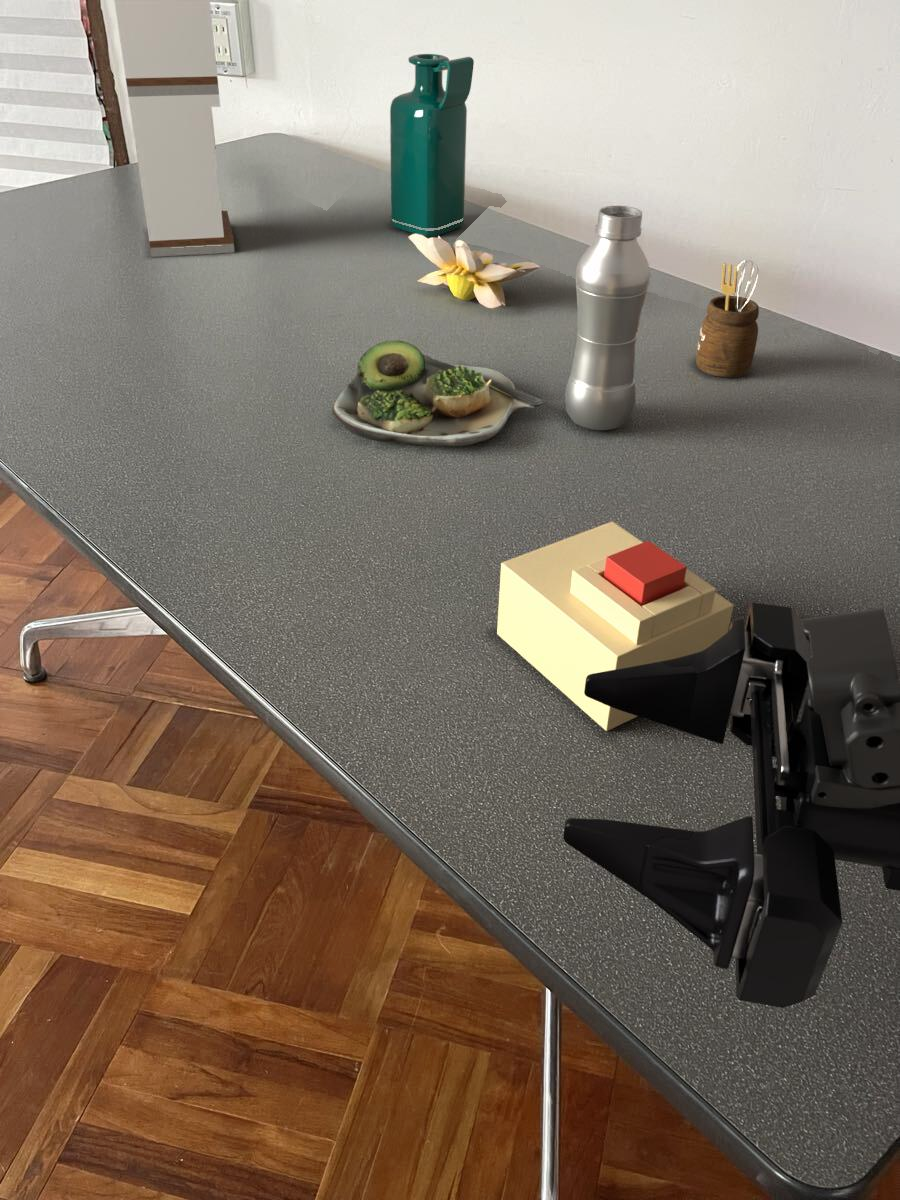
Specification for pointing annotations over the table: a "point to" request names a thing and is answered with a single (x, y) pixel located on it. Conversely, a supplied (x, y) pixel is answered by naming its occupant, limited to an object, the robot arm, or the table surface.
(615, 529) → the switch block
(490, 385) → the salad plate
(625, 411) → the silver metal bottle
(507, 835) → the table surface
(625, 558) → the button
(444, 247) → the decorative flower
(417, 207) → the pitcher
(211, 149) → the striped white pillar
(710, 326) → the utensil holder
